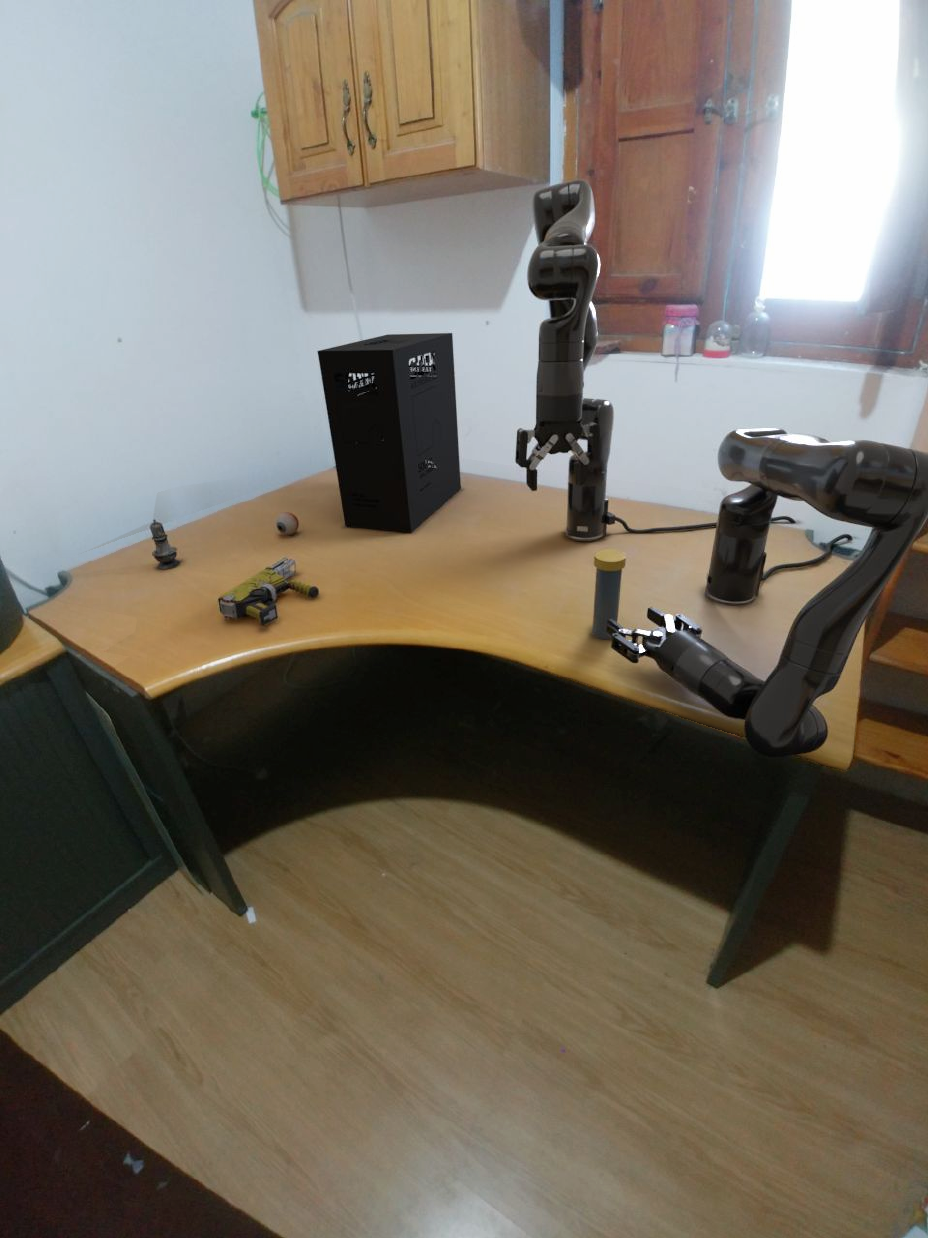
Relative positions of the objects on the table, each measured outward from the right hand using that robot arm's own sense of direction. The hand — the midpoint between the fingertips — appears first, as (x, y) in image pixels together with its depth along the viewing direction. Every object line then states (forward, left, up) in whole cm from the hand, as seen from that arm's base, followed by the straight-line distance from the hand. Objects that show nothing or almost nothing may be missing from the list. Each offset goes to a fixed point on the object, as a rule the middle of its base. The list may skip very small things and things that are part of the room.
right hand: (628, 617), depth 105 cm
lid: (0, -6, +9) cm, 11 cm away
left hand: (+5, -16, +20) cm, 26 cm away
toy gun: (+53, -51, -7) cm, 73 cm away
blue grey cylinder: (0, -6, -7) cm, 9 cm away
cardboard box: (+9, -93, -7) cm, 94 cm away
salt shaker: (+75, -85, -7) cm, 114 cm away
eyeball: (+44, -89, -7) cm, 100 cm away
